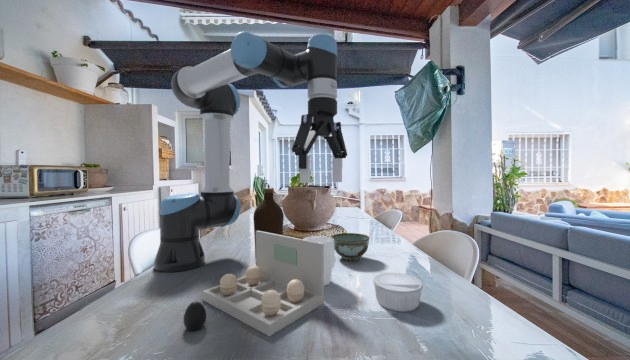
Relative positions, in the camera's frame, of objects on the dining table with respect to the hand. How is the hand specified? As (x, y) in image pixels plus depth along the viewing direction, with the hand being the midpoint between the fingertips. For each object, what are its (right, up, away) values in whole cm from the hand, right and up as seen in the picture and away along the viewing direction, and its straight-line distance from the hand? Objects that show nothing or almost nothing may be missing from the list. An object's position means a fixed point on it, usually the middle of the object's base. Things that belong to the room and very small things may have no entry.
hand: (322, 182), depth 70 cm
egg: (-25, -28, -17) cm, 42 cm away
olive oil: (-18, -28, +27) cm, 43 cm away
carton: (-14, -28, -6) cm, 32 cm away
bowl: (+11, -28, +27) cm, 40 cm away
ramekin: (+18, -28, -6) cm, 34 cm away
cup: (-1, -28, +6) cm, 29 cm away
